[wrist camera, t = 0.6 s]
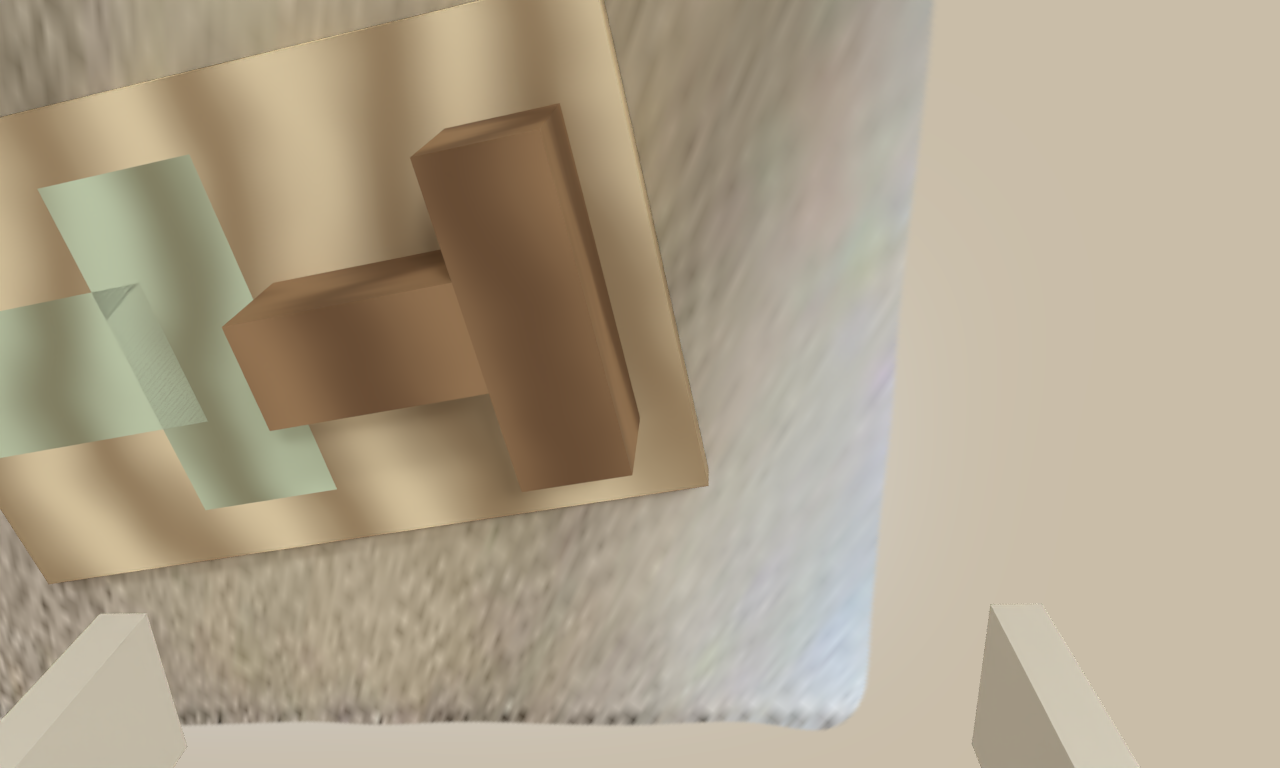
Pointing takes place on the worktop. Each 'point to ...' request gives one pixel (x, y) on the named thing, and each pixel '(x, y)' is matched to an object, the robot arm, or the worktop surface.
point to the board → (277, 251)
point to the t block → (466, 313)
